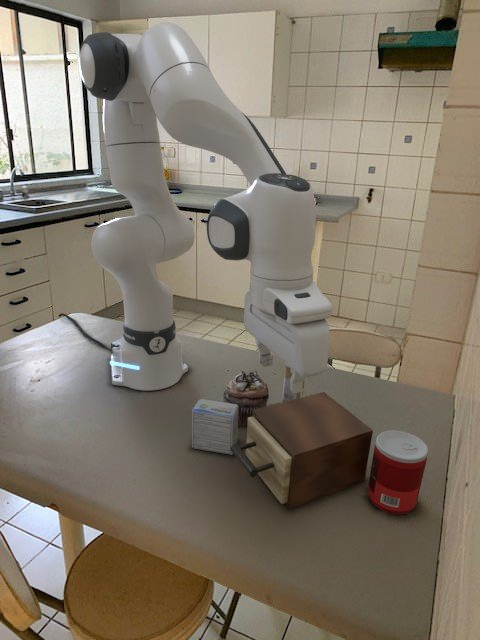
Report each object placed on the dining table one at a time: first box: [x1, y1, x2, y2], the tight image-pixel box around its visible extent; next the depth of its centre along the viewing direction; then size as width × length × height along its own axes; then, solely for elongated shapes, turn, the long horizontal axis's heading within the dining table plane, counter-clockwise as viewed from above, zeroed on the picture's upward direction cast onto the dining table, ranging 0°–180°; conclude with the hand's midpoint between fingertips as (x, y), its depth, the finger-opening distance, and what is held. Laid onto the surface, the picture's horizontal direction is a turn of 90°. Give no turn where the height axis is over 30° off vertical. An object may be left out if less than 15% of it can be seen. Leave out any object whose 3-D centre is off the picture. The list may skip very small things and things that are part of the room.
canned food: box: [367, 429, 429, 515], centre depth 75 cm, size 8×8×11 cm
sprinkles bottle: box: [282, 362, 305, 402], centre depth 98 cm, size 5×5×14 cm
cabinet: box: [252, 391, 374, 510], centre depth 81 cm, size 16×14×11 cm
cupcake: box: [222, 370, 270, 426], centre depth 97 cm, size 10×10×10 cm
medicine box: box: [191, 398, 239, 456], centre depth 87 cm, size 8×4×9 cm, turn 77°
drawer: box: [231, 416, 292, 505], centre depth 79 cm, size 19×12×9 cm, turn 117°
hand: (279, 376), depth 72 cm, fingers open, 8 cm apart
